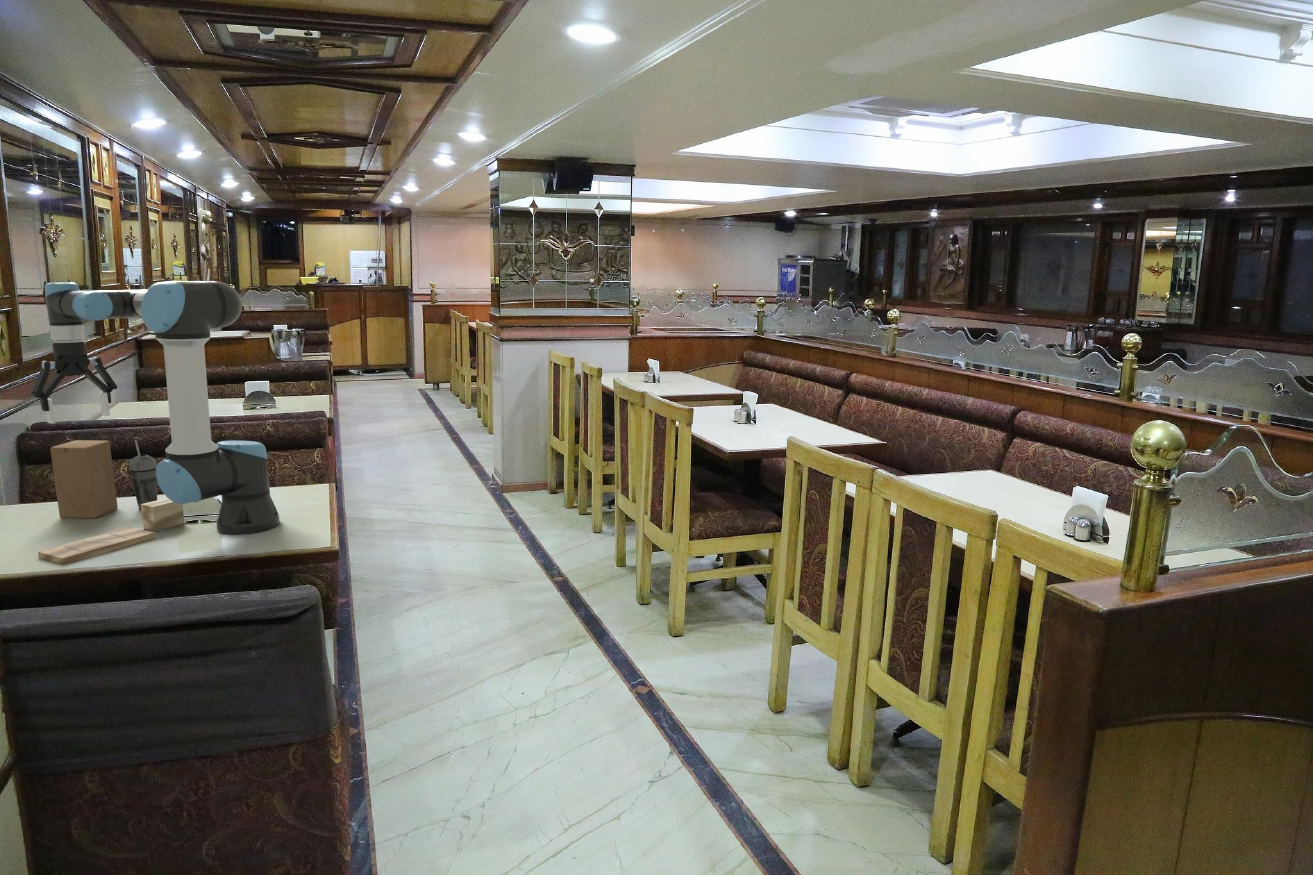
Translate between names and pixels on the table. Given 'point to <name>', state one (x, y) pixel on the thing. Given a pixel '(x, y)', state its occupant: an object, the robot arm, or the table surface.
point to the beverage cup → (144, 478)
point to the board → (96, 545)
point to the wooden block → (84, 478)
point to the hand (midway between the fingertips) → (79, 419)
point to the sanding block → (162, 515)
